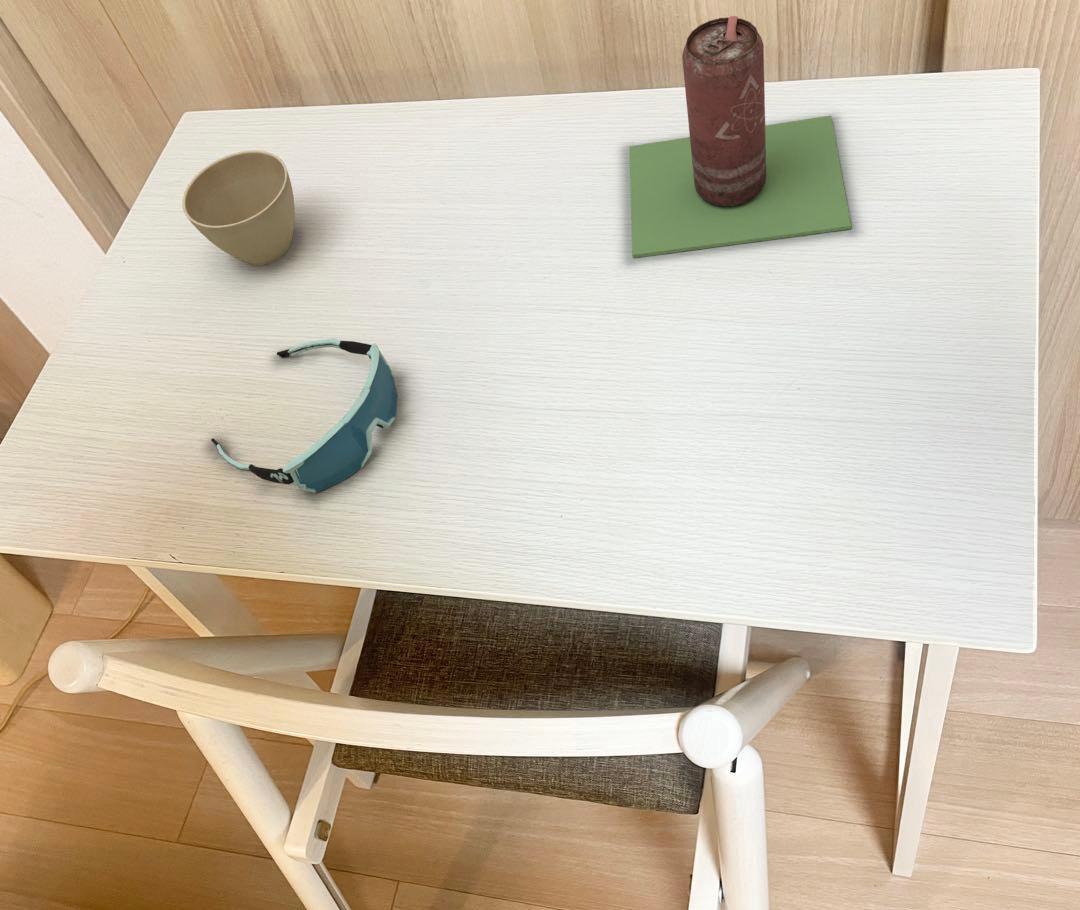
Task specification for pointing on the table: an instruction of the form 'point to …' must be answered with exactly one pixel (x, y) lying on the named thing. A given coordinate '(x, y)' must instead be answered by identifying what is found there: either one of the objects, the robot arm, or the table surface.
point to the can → (726, 110)
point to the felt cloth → (776, 212)
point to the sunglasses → (338, 427)
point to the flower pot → (244, 206)
